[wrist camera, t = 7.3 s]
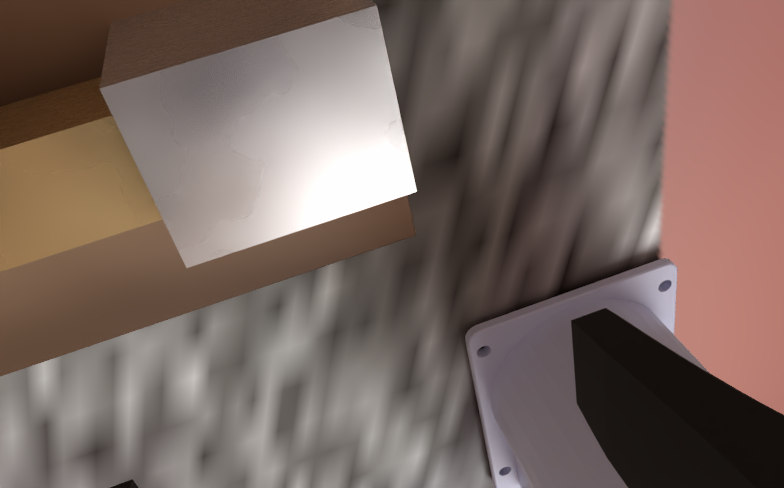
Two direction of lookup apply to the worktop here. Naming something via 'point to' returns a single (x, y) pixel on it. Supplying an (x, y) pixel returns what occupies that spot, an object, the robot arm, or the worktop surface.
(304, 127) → the white cardboard cube
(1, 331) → the walnut board
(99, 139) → the light wooden block
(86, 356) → the worktop surface
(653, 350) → the robot arm
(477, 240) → the worktop surface
